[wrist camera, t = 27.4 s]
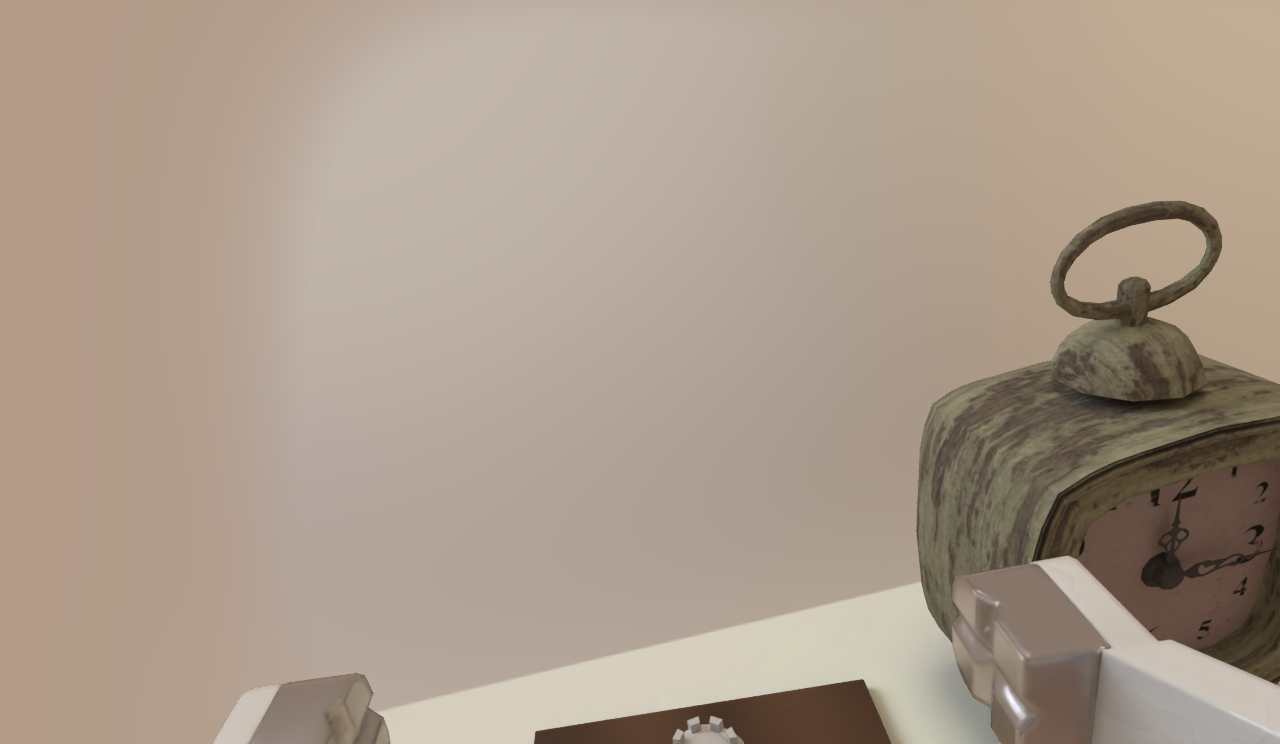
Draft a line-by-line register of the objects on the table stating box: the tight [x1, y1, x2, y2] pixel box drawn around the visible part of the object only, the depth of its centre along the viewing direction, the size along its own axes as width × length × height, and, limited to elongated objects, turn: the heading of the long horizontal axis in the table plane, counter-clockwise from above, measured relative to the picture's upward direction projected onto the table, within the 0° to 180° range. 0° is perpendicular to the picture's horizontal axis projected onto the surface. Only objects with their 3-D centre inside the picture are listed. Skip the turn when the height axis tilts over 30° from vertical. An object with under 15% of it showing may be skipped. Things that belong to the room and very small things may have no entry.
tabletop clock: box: [917, 201, 1280, 684], centre depth 31 cm, size 14×9×25 cm, turn 100°
